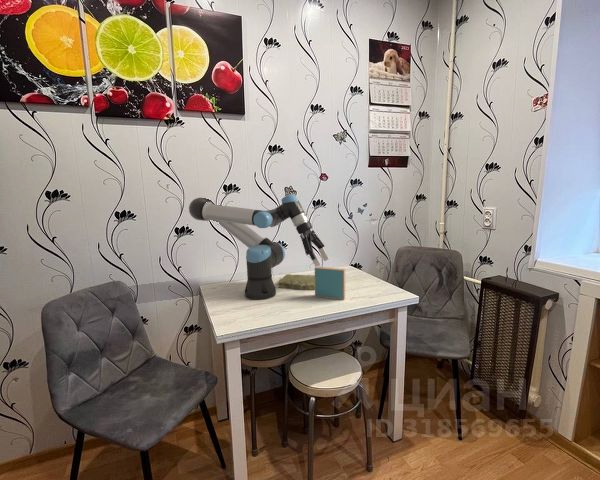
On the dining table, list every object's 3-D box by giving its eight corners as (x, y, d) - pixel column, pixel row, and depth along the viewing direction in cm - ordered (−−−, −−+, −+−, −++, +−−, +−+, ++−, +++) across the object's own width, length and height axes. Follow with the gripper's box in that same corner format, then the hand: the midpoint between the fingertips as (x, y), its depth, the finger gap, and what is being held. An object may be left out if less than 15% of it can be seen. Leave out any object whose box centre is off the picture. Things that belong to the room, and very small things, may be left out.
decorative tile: (285, 279, 184) (285, 273, 183) (320, 280, 180) (320, 274, 179) (276, 289, 166) (276, 283, 165) (315, 291, 162) (315, 284, 161)
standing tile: (314, 296, 153) (314, 268, 151) (316, 294, 156) (316, 266, 153) (343, 300, 148) (343, 270, 146) (345, 298, 150) (345, 269, 148)
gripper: (298, 222, 145) (321, 264, 144) (316, 218, 168) (336, 254, 167) (285, 230, 148) (307, 271, 147) (305, 225, 171) (323, 261, 170)
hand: (322, 262), depth 157 cm, fingers open, 13 cm apart
